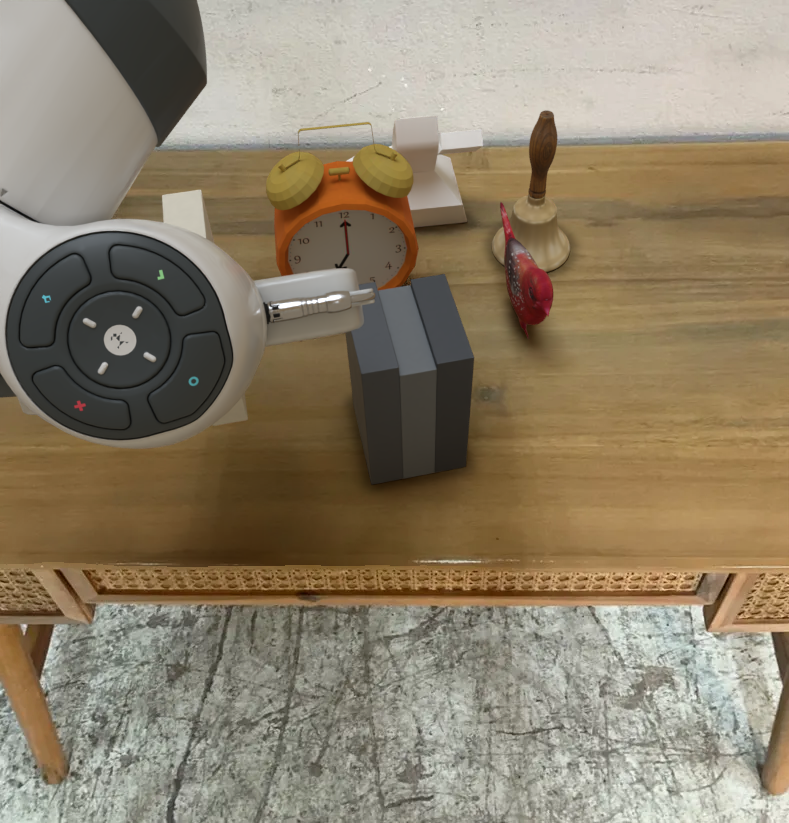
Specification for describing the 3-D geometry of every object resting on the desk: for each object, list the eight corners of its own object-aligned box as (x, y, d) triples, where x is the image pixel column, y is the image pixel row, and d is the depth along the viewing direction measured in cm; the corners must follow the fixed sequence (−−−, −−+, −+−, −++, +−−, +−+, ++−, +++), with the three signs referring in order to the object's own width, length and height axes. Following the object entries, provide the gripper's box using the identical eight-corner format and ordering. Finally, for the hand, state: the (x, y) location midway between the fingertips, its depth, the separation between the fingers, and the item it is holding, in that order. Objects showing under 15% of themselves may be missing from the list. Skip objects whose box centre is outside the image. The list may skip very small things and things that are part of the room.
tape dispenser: (346, 192, 95) (336, 82, 84) (467, 180, 96) (472, 69, 85) (352, 241, 90) (343, 131, 79) (480, 228, 91) (488, 117, 80)
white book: (212, 426, 61) (167, 288, 50) (204, 337, 66) (161, 194, 55) (248, 420, 61) (210, 281, 50) (237, 331, 66) (201, 188, 55)
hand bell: (475, 250, 89) (484, 118, 76) (523, 211, 92) (539, 79, 80) (538, 286, 85) (558, 154, 73) (585, 245, 89) (612, 112, 76)
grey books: (371, 485, 72) (361, 374, 60) (353, 404, 77) (340, 287, 65) (466, 466, 72) (474, 353, 60) (441, 388, 78) (444, 269, 66)
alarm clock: (288, 327, 83) (255, 158, 67) (285, 284, 87) (253, 114, 71) (419, 312, 84) (419, 141, 68) (411, 270, 87) (408, 98, 71)
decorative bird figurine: (523, 375, 78) (534, 300, 70) (483, 249, 89) (489, 171, 81) (553, 371, 79) (568, 295, 71) (509, 246, 89) (518, 168, 81)
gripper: (370, 234, 43) (349, 251, 57) (-39, 297, 41) (42, 299, 55) (389, 354, 44) (364, 342, 58) (-9, 422, 42) (63, 393, 55)
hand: (205, 321), depth 56 cm, fingers closed on white book, 2 cm apart
